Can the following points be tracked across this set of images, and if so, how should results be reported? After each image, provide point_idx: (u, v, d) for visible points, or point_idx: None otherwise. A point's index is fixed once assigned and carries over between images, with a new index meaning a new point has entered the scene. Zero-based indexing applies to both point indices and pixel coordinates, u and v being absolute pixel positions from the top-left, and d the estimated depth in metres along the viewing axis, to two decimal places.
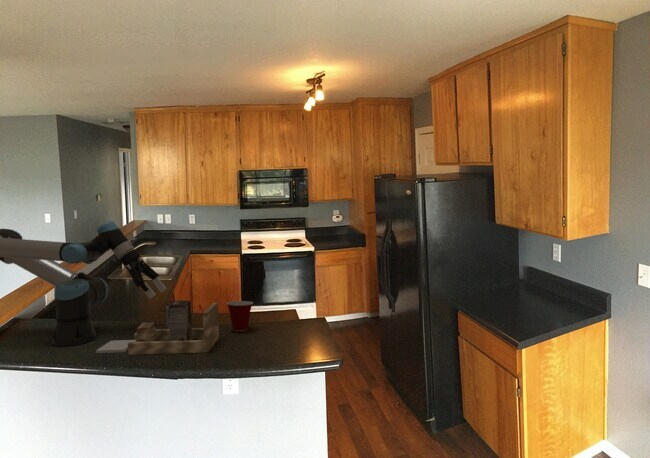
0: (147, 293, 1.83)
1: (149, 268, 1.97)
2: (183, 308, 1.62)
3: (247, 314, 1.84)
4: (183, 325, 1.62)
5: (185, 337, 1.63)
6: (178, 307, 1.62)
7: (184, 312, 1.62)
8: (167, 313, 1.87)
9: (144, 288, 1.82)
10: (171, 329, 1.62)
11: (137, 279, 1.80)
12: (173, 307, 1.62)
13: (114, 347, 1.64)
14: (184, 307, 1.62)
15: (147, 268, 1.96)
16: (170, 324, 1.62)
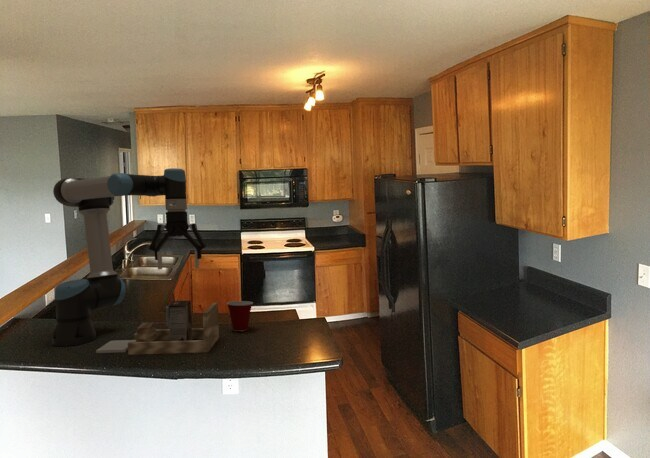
0: None
1: None
2: (183, 308, 1.62)
3: (247, 314, 1.84)
4: (183, 325, 1.62)
5: (185, 337, 1.63)
6: (178, 307, 1.62)
7: (184, 312, 1.62)
8: (167, 313, 1.87)
9: None
10: (171, 329, 1.62)
11: None
12: (173, 307, 1.62)
13: (114, 347, 1.64)
14: (184, 307, 1.62)
15: None
16: (170, 324, 1.62)
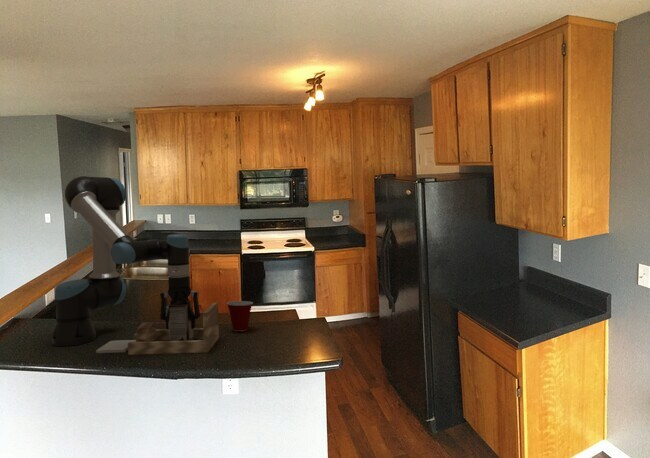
0: None
1: None
2: (183, 308, 1.62)
3: (247, 314, 1.84)
4: (183, 325, 1.62)
5: (185, 337, 1.63)
6: (178, 307, 1.62)
7: (184, 312, 1.62)
8: None
9: None
10: (171, 329, 1.62)
11: None
12: (173, 307, 1.62)
13: (114, 347, 1.64)
14: (184, 307, 1.62)
15: (194, 303, 1.66)
16: (170, 324, 1.62)
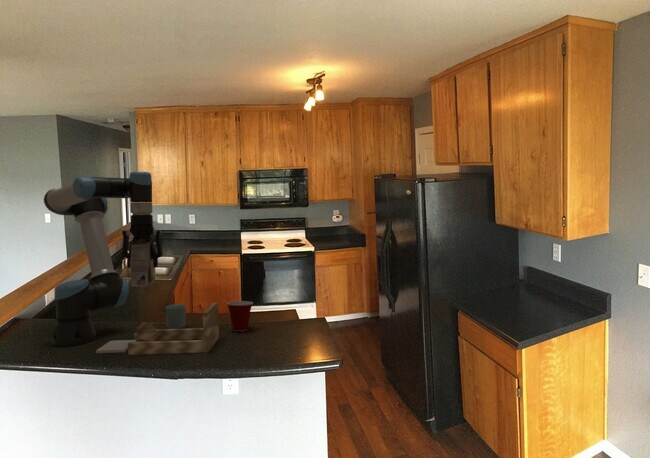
0: None
1: (156, 243, 1.65)
2: (145, 245, 1.61)
3: (247, 314, 1.84)
4: (145, 263, 1.61)
5: (147, 274, 1.62)
6: (140, 244, 1.61)
7: (146, 249, 1.61)
8: (167, 313, 1.87)
9: None
10: (132, 266, 1.61)
11: None
12: (135, 244, 1.61)
13: (114, 347, 1.64)
14: (146, 244, 1.61)
15: None
16: (131, 261, 1.61)
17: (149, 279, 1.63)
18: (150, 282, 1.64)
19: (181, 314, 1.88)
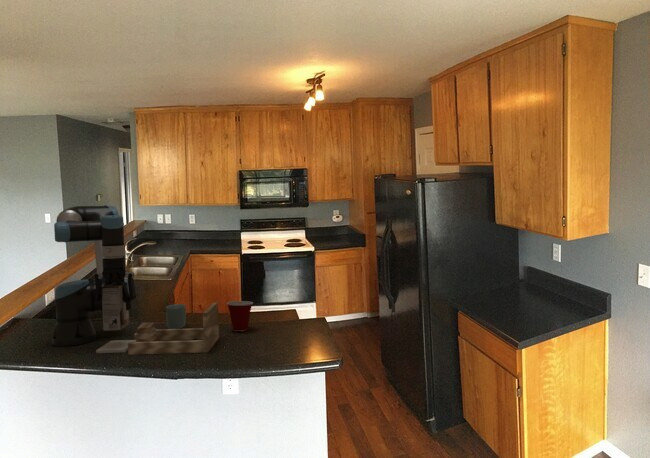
0: None
1: (128, 286, 1.64)
2: (116, 289, 1.61)
3: (247, 314, 1.84)
4: (116, 306, 1.61)
5: (118, 318, 1.62)
6: (111, 288, 1.61)
7: (117, 293, 1.61)
8: (167, 313, 1.87)
9: None
10: (104, 310, 1.61)
11: None
12: (106, 288, 1.61)
13: (114, 347, 1.64)
14: (117, 288, 1.61)
15: None
16: (103, 305, 1.61)
17: (121, 322, 1.63)
18: (123, 325, 1.64)
19: (181, 314, 1.88)
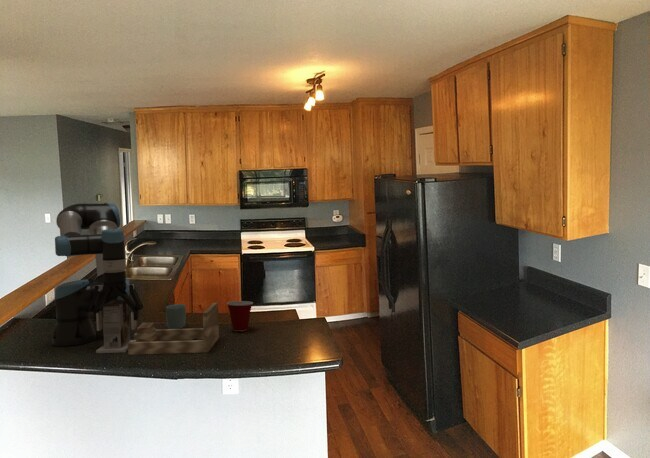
0: None
1: (132, 297, 1.65)
2: (117, 307, 1.61)
3: (247, 314, 1.84)
4: (117, 325, 1.62)
5: (119, 336, 1.62)
6: (112, 306, 1.61)
7: (118, 311, 1.61)
8: (167, 313, 1.87)
9: None
10: (105, 328, 1.61)
11: None
12: (107, 306, 1.61)
13: None
14: (118, 306, 1.61)
15: None
16: (104, 323, 1.61)
17: (122, 341, 1.63)
18: (123, 343, 1.64)
19: (181, 314, 1.88)
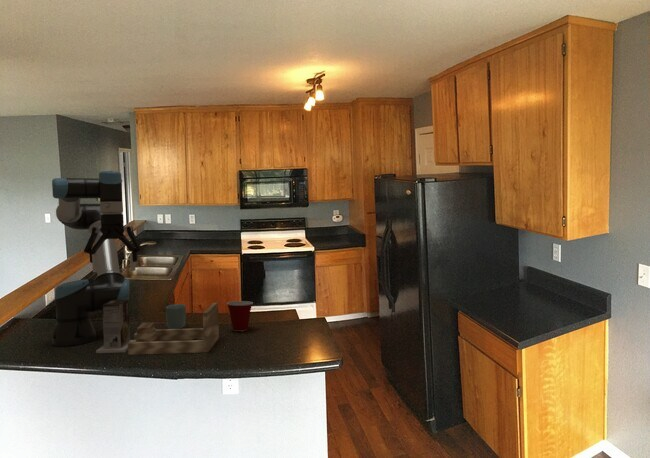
0: None
1: (131, 239, 1.64)
2: (117, 307, 1.61)
3: (247, 314, 1.84)
4: (117, 324, 1.62)
5: (119, 336, 1.62)
6: (112, 306, 1.61)
7: (118, 311, 1.61)
8: (167, 313, 1.87)
9: None
10: (105, 328, 1.61)
11: None
12: (107, 306, 1.61)
13: None
14: (118, 306, 1.61)
15: None
16: (104, 323, 1.61)
17: (122, 340, 1.63)
18: (123, 343, 1.64)
19: (181, 314, 1.88)
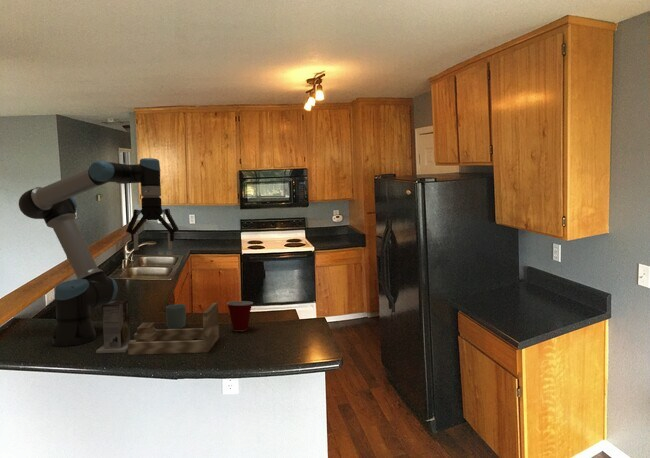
0: None
1: None
2: (117, 307, 1.61)
3: (247, 314, 1.84)
4: (117, 325, 1.62)
5: (119, 336, 1.62)
6: (112, 306, 1.61)
7: (118, 311, 1.61)
8: (167, 313, 1.87)
9: None
10: (105, 328, 1.61)
11: None
12: (107, 306, 1.61)
13: None
14: (118, 306, 1.61)
15: (168, 219, 1.81)
16: (104, 323, 1.61)
17: (122, 341, 1.63)
18: (123, 343, 1.64)
19: (181, 314, 1.88)
